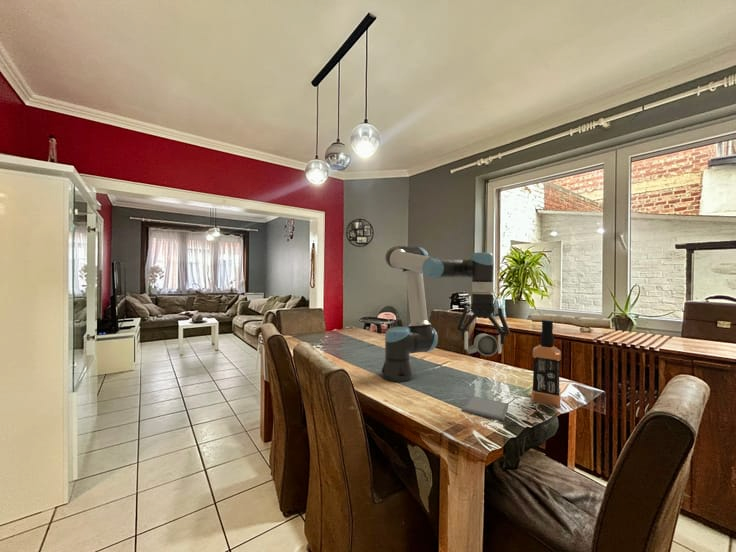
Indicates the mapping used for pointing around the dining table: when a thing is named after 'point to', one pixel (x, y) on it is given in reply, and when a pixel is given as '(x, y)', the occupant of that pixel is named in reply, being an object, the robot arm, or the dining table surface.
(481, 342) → the ceramic mug
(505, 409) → the trivet
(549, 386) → the whiskey bottle
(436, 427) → the dining table surface
